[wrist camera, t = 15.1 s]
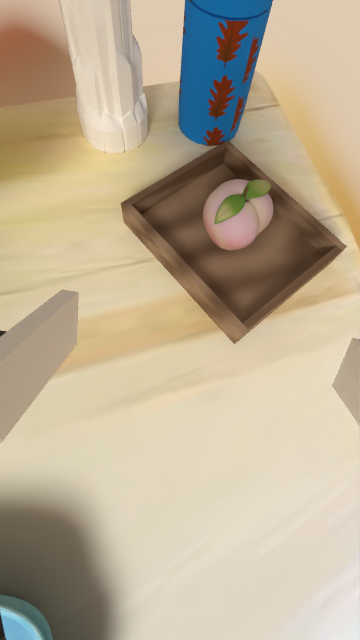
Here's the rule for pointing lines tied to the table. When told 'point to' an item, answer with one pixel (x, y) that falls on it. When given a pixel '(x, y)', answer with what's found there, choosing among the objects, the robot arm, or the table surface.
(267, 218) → the decorative fruit
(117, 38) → the decorative vase
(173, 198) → the walnut tray
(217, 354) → the table surface
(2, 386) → the robot arm
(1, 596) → the casserole dish
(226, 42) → the thermos
